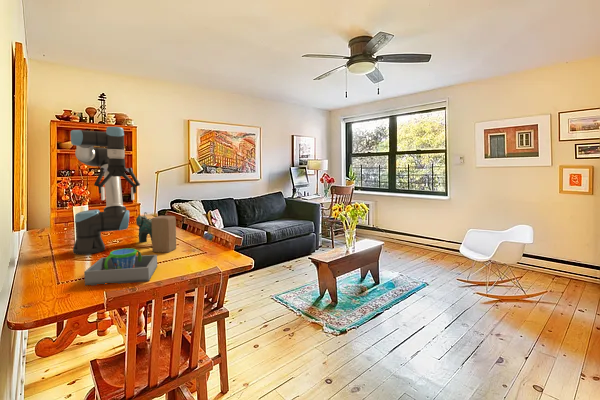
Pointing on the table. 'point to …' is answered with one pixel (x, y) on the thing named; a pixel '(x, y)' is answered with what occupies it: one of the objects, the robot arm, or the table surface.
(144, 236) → the green animal figurine
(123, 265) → the snack cup
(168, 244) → the wooden block
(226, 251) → the table surface
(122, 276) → the grey tray
